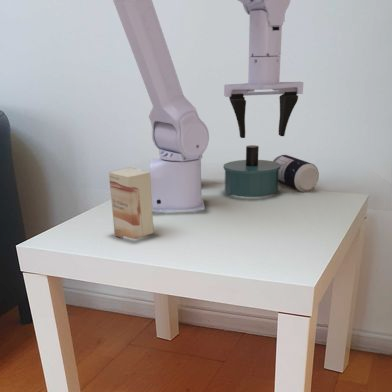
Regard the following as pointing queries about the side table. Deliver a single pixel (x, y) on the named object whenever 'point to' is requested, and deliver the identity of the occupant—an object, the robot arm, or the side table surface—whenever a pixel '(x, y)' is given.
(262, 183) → the tin
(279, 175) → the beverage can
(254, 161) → the cover
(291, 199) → the side table surface
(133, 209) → the printed cardboard carton
